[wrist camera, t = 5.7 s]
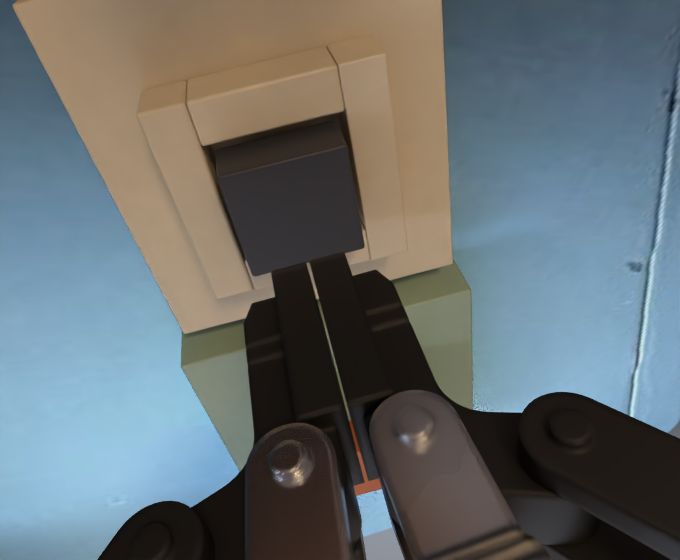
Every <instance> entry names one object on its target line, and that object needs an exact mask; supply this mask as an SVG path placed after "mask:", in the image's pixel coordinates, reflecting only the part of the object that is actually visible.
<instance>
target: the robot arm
mask: <svg viewBox="0 0 680 560" xmlns="http://www.w3.org/2000/svg"><path fill="white" fill-rule="evenodd" d="M309 262H310V266H311V270H312V274H313V277H314V281H315V285H316V289H317V293H318V296H319V300H320V304H321V308H322V312H323V315H324V319H325V323H326V327H327V331H328V334H329V338H330V342H331V346H332V350H333V353H334V357H335V361H336V365H337V369H338V372H339V376H340V380H341V384H342V388H343V391H344V395H345V399H346V403H347V406H348V410H349V414H350V417H351V421H352V424H353V428H354V432H355V435H356V439H357V442H358V446H359V449H360V453H361V457H362V460H363V464H364V467H365V471H366V474H367V478H368V481H372V480H375V479H379V480H380V483H381V487H382V490H383V494H384V497H385V501H386V505H387V508H388V512H389V516H390V520H391V524H392V526H393V529H394V532H395V535H396V537H397V540H398V543H399V546H400V548H401V551H402V554H403V556H404V559H405V560H680V439H679V438H677V437H675V436H672V435H670V434H668V433H666V432H664V431H661V430H659V429H657V428H655V427H653V426H650V425H648V424H646V423H644V422H642V421H639V420H637V419H635V418H633V417H631V416H628V415H626V414H624V413H622V412H619V411H617V410H615V409H613V408H611V407H608V406H606V405H604V404H602V403H600V402H597V401H595V400H593V399H591V398H588V397H586V396H583V395H579V394H575V393H569V392H555V393H549V394H546V395H543V396H540V397H538V398H536V399H534V400H533V401H532V402H531V403H529V404H528V406H527V407H526V408H525V409H524V411H523V413H505V412H482V411H476V410H472V409H469V408H466V407H463V406H461V405H459V404H457V403H455V402H454V401H453V400H451V399H450V398H448V397H447V396H446V395H445V394H444V393H443V392H442V390H441V389H440V388H439V386H438V384H437V382H436V380H435V378H434V376H433V373H432V371H431V369H430V367H429V364H428V362H427V360H426V357H425V355H424V353H423V350H422V348H421V346H420V343H419V341H418V339H417V337H416V334H415V332H414V330H413V327H412V325H411V323H410V322H409V318H408V316H407V313H406V311H405V309H404V306H403V305H402V302H401V300H400V297H399V295H398V293H397V290H396V288H395V286H394V283H392V282H391V281H390V280H389V279H387V278H386V277H385V276H384V275H382V274H381V273H380V272H379V271H378V270H372V271H368V272H365V273H361V274H357V275H352V273H351V270H350V267H349V264H348V261H347V258H346V255H345V253H344V252H340V253H336V254H333V255H329V256H325V257H322V258H318V259H314V260H310V261H309ZM271 276H272V282H273V288H274V293H275V297H273V298H269V299H265V300H262V301H258V302H254V303H252V304H251V306H250V309H249V311H248V314H247V316H246V319H245V321H244V324H243V326H244V336H245V346H246V357H247V364H248V377H249V387H250V397H251V407H252V417H253V427H254V443H253V448H252V450H251V452H250V454H249V456H248V459H247V463H246V464H245V466H244V467H243V469H242V470H241V471H240V473H239V474H238V475H237V476H236V477H235V478H234V479H233V480H232V481H231V482H230V483H228V484H227V485H226V486H224V487H223V488H221V489H220V490H218V491H217V492H215V493H214V494H212V495H210V496H209V497H207V498H206V499H204V500H203V501H201V502H199V503H198V504H196V505H195V506H193V507H192V508H190V507H189V506H187V505H185V504H183V503H180V502H176V501H162V502H158V503H154V504H152V505H149V506H147V507H145V508H143V509H142V510H140V511H138V512H137V513H136V514H134V515H133V516H132V517H131V518H129V519H128V520H127V521H126V522H125V523H124V525H123V526H122V527H121V528H120V529H119V531H118V532H117V533H116V535H115V536H114V537H113V539H112V540H111V542H110V543H109V544H108V546H107V547H106V548H105V550H104V551H103V553H102V554H101V555H100V557H99V558H98V559H97V560H366V554H365V548H364V542H363V535H362V530H361V527H362V521H361V514H360V510H359V506H358V502H357V498H356V494H355V489H354V486H355V485H359V484H362V483H365V481H364V477H363V474H362V470H361V466H360V462H359V458H358V454H357V450H356V447H355V443H354V439H353V435H352V431H351V427H350V423H349V420H348V416H347V412H346V408H345V404H344V400H343V396H342V393H341V389H340V385H339V381H338V377H337V373H336V369H335V366H334V362H333V358H332V354H331V350H330V346H329V342H328V339H327V335H326V331H325V327H324V324H323V320H322V316H321V313H320V309H319V306H318V302H317V299H316V295H315V291H314V288H313V284H312V281H311V277H310V274H309V270H308V267H307V263H306V262H304V263H300V264H296V265H292V266H289V267H285V268H281V269H277V270H274V271H271Z"/></svg>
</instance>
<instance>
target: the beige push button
mask: <svg viewBox="0 0 680 560" xmlns="http://www.w3.org/2000/svg"><path fill="white" fill-rule="evenodd" d="M12 6H13V9H14V11H15V13H16V15H17V17H18V18H19V20H20V22H21V24H22V26H23V28H24V30H25V32H26V34H27V36H28V37H29V39H30V41H31V43H32V45H33V47H34V49H35V51H36V53H37V55H38V57H39V58H40V60H41V62H42V64H43V66H44V68H45V70H46V72H47V74H48V76H49V78H50V79H51V81H52V83H53V85H54V87H55V89H56V91H57V93H58V95H59V97H60V98H61V100H62V102H63V104H64V106H65V108H66V110H67V112H68V114H69V116H70V118H71V119H72V121H73V123H74V125H75V127H76V129H77V131H78V133H79V135H80V137H81V139H82V140H83V142H84V144H85V146H86V148H87V150H88V152H89V154H90V156H91V158H92V159H93V161H94V163H95V165H96V167H97V169H98V171H99V173H100V175H101V177H102V179H103V180H104V182H105V184H106V186H107V188H108V190H109V192H110V194H111V196H112V198H113V200H114V201H115V203H116V205H117V207H118V209H119V211H120V213H121V215H122V217H123V219H124V220H125V222H126V224H127V226H128V228H129V230H130V232H131V234H132V236H133V238H134V240H135V241H136V243H137V245H138V247H139V249H140V251H141V253H142V255H143V257H144V259H145V261H146V262H147V264H148V266H149V268H150V270H151V272H152V274H153V276H154V278H155V280H156V281H157V283H158V285H159V287H160V289H161V291H162V293H163V295H164V297H165V299H166V301H167V302H168V304H169V306H170V308H171V310H172V312H173V314H174V316H175V318H176V320H177V321H178V323H179V325H180V327H181V329H182V331H183V333H184V334H187V333H191V332H194V331H198V330H202V329H206V328H210V327H214V326H217V325H221V324H225V323H229V322H233V321H236V320H240V319H244V318H246V316H247V314H248V311H249V309H250V306H251V304H252V303H254V302H258V301H262V300H265V299H269V298H273V297H275V293H274V288H273V282H272V276H271V273H267V274H263V275H259V276H253V275H252V274H251V271H250V268H249V266H248V263H247V260H246V257H245V255H244V252H243V249H242V246H241V244H240V241H239V238H238V235H237V233H236V230H235V227H234V225H233V222H232V219H231V216H230V214H229V211H228V208H227V205H226V203H225V200H224V197H223V194H222V192H221V189H220V186H219V184H218V181H217V171H216V150H217V149H220V148H224V147H228V146H232V145H236V144H240V143H244V142H248V141H252V140H256V139H260V138H264V137H268V136H272V135H276V134H280V133H284V132H288V131H292V130H296V129H300V128H304V127H308V126H312V125H316V124H320V123H324V122H328V121H332V120H334V121H336V123H337V125H338V127H339V129H340V131H341V134H342V136H343V138H344V140H345V142H346V144H347V147H348V153H349V158H350V164H351V170H352V175H353V181H354V187H355V193H356V198H357V204H358V210H359V215H360V221H361V227H362V232H363V238H364V244H365V246H364V248H363V249H360V250H356V251H352V252H348V253H345V255H346V258H347V261H348V264H349V267H350V270H351V273H352V275H357V274H361V273H365V272H368V271H372V270H378V271H379V272H380V273H381V274H382V275H384V276H385V277H386V278H387V279H389V280H393V279H397V278H401V277H404V276H408V275H412V274H416V273H420V272H424V271H427V270H431V269H435V268H439V267H443V266H446V265H450V264H453V256H452V232H451V209H450V185H449V162H448V138H447V115H446V91H445V67H444V44H443V20H442V0H17V1H16V2H15V3H14V4H13V5H12ZM307 267H308V270H309V274H310V277H311V281H312V284H313V288H314V291H315V295H316V299H319V296H318V293H317V289H316V285H315V281H314V277H313V274H312V270H311V266H310V263H307Z"/></svg>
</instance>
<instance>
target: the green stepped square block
mask: <svg viewBox="0 0 680 560" xmlns="http://www.w3.org/2000/svg"><path fill="white" fill-rule="evenodd" d="M390 281H391V282H392V283H394V286H395V288H396V290H397V293H398V295H399V297H400V300H401V302H402V305H403V306H404V309H405V311H406V313H407V316H408V318H409V322H410V323H411V325H412V327H413V330H414V332H415V334H416V337H417V339H418V341H419V343H420V346H421V348H422V350H423V353H424V355H425V357H426V360H427V362H428V364H429V367H430V369H431V371H432V373H433V376H434V378H435V380H436V382H437V384H438V386H439V388H440V389H441V390H442V392H443V393H444V394H445V395H446V396H447V397H448V398H450V399H451V400H453V401H454V402H455V403H457V404H459V405H461V406H463V407H466V408H469V409H472V410H473V384H472V313H471V289H470V287H469V285H468V284H467V282H466V280H465V279H464V277H463V275H462V273H461V272H460V270H459V268H458V267H457V265H456V263H455V261H454V260H453V264H450V265H446V266H443V267H439V268H435V269H431V270H427V271H424V272H420V273H416V274H412V275H408V276H404V277H401V278H397V279H393V280H390ZM317 302H318V306H319V309H320V313H321V316H322V320H323V324H324V327H325V331H326V335H327V339H328V342H329V346H330V350H331V354H332V358H333V362H334V366H335V369H336V373H337V377H338V381H339V385H340V389H341V393H342V396H343V400H344V404H345V408H346V412H347V416H348V420H349V421H351V417H350V414H349V410H348V406H347V403H346V399H345V395H344V391H343V388H342V384H341V380H340V376H339V372H338V369H337V365H336V361H335V357H334V353H333V350H332V346H331V342H330V338H329V334H328V331H327V327H326V323H325V319H324V315H323V312H322V308H321V304H320V300H319V299H317ZM245 319H246V318H244V319H240V320H236V321H233V322H229V323H225V324H221V325H217V326H214V327H210V328H206V329H202V330H198V331H194V332H191V333H187V334H184V333H183V331H182V347H181V368H182V370H183V372H184V373H185V375H186V377H187V379H188V380H189V382H190V384H191V386H192V388H193V389H194V391H195V393H196V395H197V396H198V398H199V400H200V402H201V403H202V405H203V407H204V409H205V411H206V412H207V414H208V416H209V418H210V419H211V421H212V423H213V425H214V427H215V428H216V430H217V432H218V434H219V435H220V437H221V439H222V441H223V443H224V444H225V446H226V448H227V450H228V451H229V453H230V455H231V457H232V459H233V460H234V462H235V464H236V466H237V467H238V469H239V471H241V470H242V469H243V467H244V466H245V464H246V463H247V459H248V456H249V454H250V452H251V450H252V448H253V443H254V427H253V417H252V407H251V397H250V387H249V377H248V364H247V357H246V346H245V336H244V326H243V324H244V321H245Z"/></svg>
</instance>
